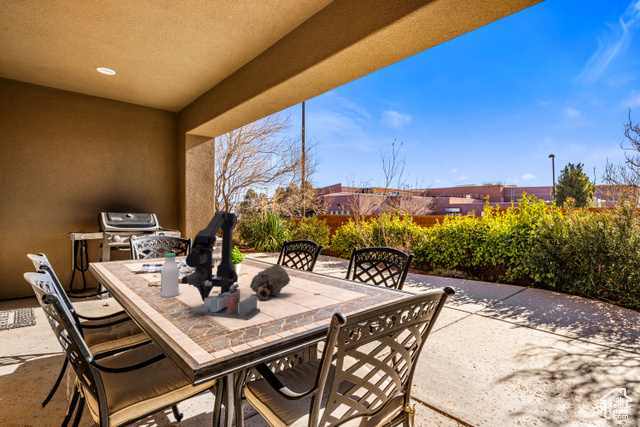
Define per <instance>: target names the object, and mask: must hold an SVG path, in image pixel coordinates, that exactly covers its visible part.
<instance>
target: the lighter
mask: <svg viewBox="0 0 640 427" xmlns="http://www.w3.org/2000/svg"><path fill="white" fill-rule="evenodd" d="M227 296H228V302H227V313H229V314H230V313H234V312H236V311H238V303H239V302H241V289H239V283H234V285H231V287H230V292H228V293H227Z"/></svg>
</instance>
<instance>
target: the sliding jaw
mask: <svg viewBox="0 0 640 427" xmlns="http://www.w3.org/2000/svg"><path fill="white" fill-rule="evenodd" d="M227 302H228V296H227V293H226V292H225V293H223V294H221V295H218V294H217V295H209V296H208V297H206V298H204V303H203V304H204V306H211V312H217V311H219V310H221V309H223V308H225V307H227Z"/></svg>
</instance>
